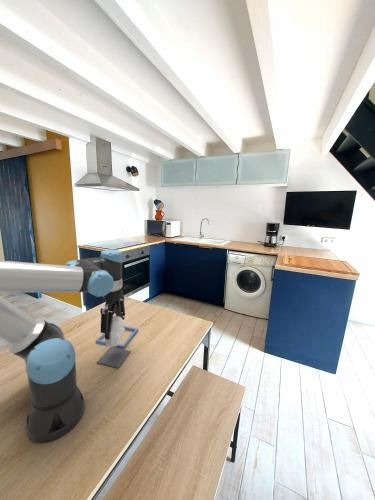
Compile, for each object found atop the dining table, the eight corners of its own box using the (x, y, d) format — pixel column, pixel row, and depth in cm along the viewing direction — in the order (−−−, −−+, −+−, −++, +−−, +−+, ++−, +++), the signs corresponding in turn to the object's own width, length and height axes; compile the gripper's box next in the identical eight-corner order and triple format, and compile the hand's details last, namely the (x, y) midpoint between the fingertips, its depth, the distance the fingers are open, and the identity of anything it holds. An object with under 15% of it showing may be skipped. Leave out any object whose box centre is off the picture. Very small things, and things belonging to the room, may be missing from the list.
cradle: (123, 349, 95) (123, 346, 95) (95, 343, 98) (95, 340, 98) (137, 331, 109) (137, 328, 109) (113, 326, 112) (113, 323, 112)
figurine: (119, 348, 84) (118, 322, 82) (101, 346, 85) (100, 320, 82) (126, 338, 91) (125, 313, 89) (109, 336, 92) (108, 311, 89)
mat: (118, 368, 84) (118, 367, 84) (96, 363, 86) (96, 362, 86) (130, 352, 94) (130, 350, 93) (110, 347, 96) (110, 346, 95)
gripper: (106, 300, 73) (108, 357, 78) (133, 280, 92) (133, 327, 97) (87, 297, 74) (90, 353, 79) (117, 278, 93) (118, 324, 98)
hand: (114, 338), depth 88 cm, fingers closed on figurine, 7 cm apart
